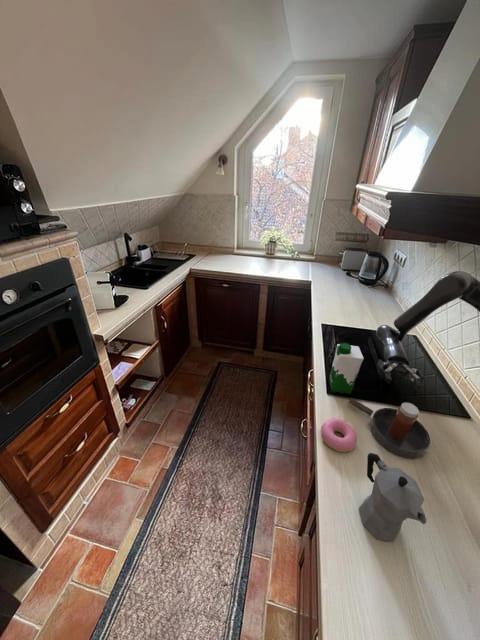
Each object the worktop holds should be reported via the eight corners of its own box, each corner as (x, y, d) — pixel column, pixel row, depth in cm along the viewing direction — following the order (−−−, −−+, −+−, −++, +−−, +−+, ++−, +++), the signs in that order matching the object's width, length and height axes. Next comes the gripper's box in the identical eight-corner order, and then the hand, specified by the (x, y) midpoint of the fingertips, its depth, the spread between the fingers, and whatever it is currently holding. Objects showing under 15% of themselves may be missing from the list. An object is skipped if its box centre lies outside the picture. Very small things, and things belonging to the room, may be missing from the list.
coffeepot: (416, 546, 58) (450, 507, 49) (382, 560, 56) (412, 522, 47) (369, 478, 71) (390, 437, 62) (340, 487, 69) (357, 447, 60)
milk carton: (326, 378, 106) (336, 338, 96) (349, 380, 105) (361, 340, 94) (329, 393, 98) (341, 352, 88) (353, 396, 97) (368, 355, 87)
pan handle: (372, 413, 88) (373, 410, 87) (370, 416, 87) (371, 413, 86) (350, 399, 93) (351, 397, 92) (348, 402, 92) (348, 400, 91)
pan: (408, 415, 90) (411, 408, 88) (437, 460, 76) (442, 453, 74) (362, 413, 90) (364, 407, 88) (383, 458, 76) (387, 451, 74)
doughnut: (312, 432, 83) (315, 423, 81) (336, 418, 88) (339, 410, 86) (338, 460, 75) (341, 452, 73) (363, 444, 80) (366, 436, 78)
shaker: (400, 426, 85) (413, 401, 79) (409, 441, 81) (423, 415, 74) (385, 426, 85) (397, 401, 79) (392, 440, 81) (406, 415, 75)
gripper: (378, 345, 99) (383, 371, 86) (419, 353, 95) (432, 381, 82) (372, 360, 103) (377, 387, 90) (412, 368, 99) (423, 398, 86)
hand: (403, 384), depth 86 cm, fingers open, 8 cm apart
